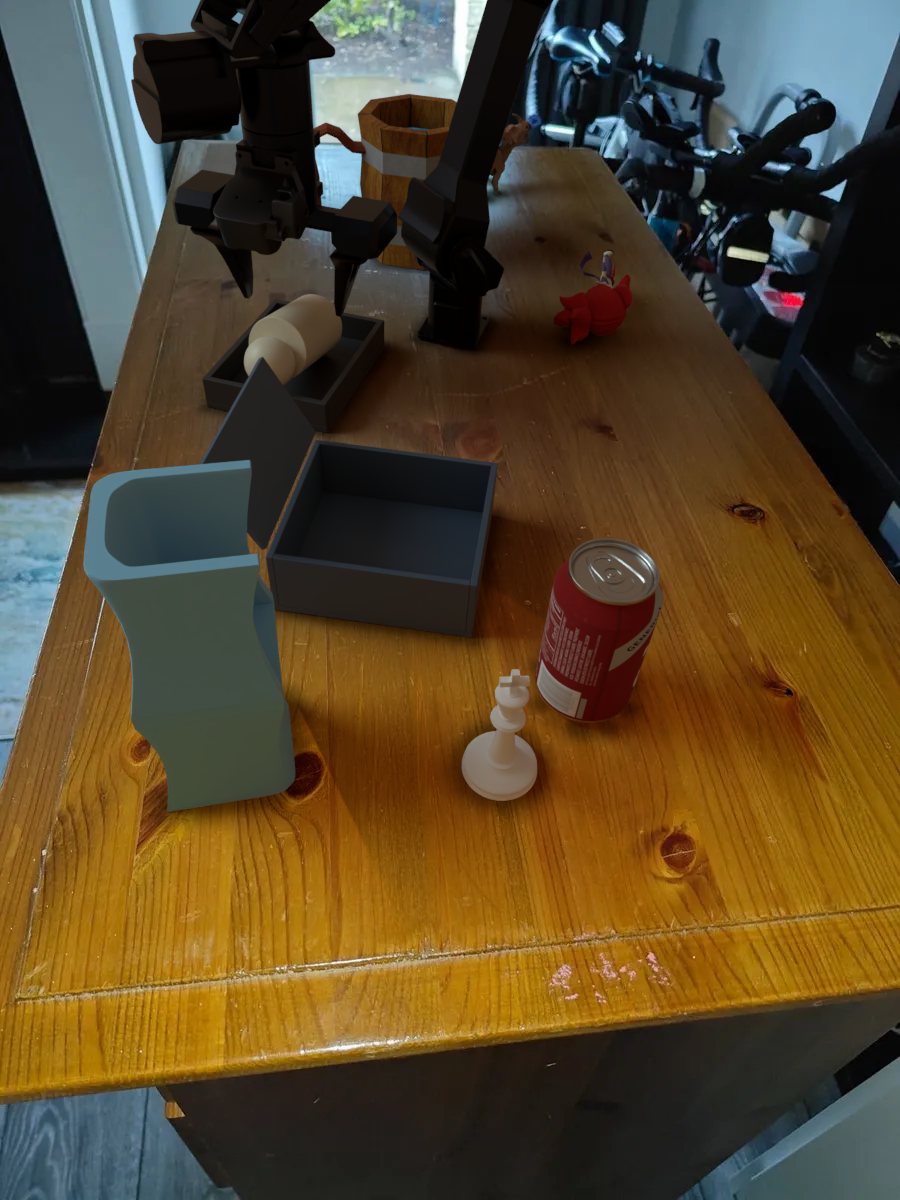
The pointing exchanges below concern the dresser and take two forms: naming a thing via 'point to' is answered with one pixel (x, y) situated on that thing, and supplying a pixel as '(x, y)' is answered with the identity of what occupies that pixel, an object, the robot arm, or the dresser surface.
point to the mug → (397, 153)
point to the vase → (194, 628)
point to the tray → (307, 370)
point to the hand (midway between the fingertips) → (293, 305)
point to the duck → (294, 336)
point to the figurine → (596, 304)
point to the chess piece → (503, 746)
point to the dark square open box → (385, 538)
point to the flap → (264, 446)
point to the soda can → (598, 629)
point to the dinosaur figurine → (508, 148)
